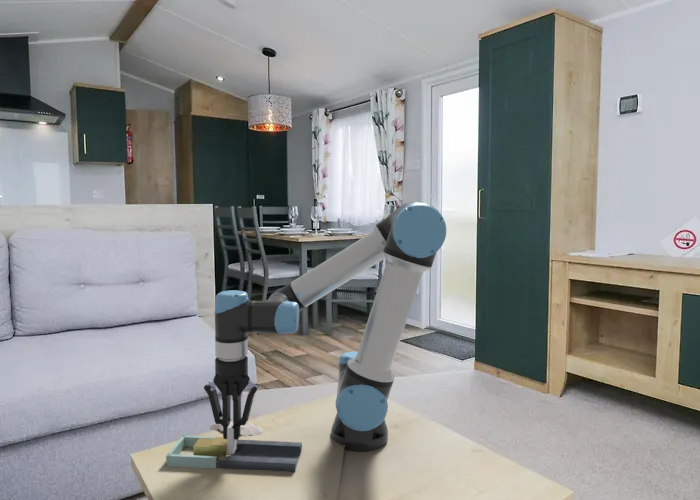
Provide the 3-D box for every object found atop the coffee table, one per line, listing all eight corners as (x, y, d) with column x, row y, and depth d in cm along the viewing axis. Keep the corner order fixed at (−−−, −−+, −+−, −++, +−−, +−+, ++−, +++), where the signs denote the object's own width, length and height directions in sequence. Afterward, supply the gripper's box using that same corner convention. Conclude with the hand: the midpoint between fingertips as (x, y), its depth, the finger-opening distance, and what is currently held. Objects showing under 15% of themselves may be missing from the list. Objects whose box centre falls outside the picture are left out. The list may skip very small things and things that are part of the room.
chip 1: (215, 454, 124) (215, 439, 123) (210, 463, 120) (209, 447, 119) (199, 453, 124) (199, 438, 123) (193, 462, 120) (193, 446, 120)
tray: (228, 450, 127) (228, 437, 126) (215, 472, 117) (215, 458, 116) (183, 448, 127) (182, 435, 127) (166, 469, 117) (166, 455, 117)
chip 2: (231, 452, 123) (231, 437, 123) (226, 461, 119) (226, 445, 119) (215, 452, 124) (215, 436, 123) (210, 460, 120) (209, 444, 119)
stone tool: (204, 438, 133) (260, 444, 132) (205, 427, 133) (260, 434, 132) (215, 422, 141) (267, 429, 140) (215, 412, 141) (268, 418, 140)
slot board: (301, 453, 125) (301, 442, 125) (294, 476, 116) (294, 463, 115) (230, 450, 127) (230, 439, 126) (218, 472, 117) (217, 459, 116)
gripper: (262, 352, 122) (262, 445, 124) (209, 350, 123) (210, 442, 125) (254, 362, 114) (254, 460, 117) (198, 360, 115) (199, 457, 118)
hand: (231, 451), depth 121 cm, fingers closed
